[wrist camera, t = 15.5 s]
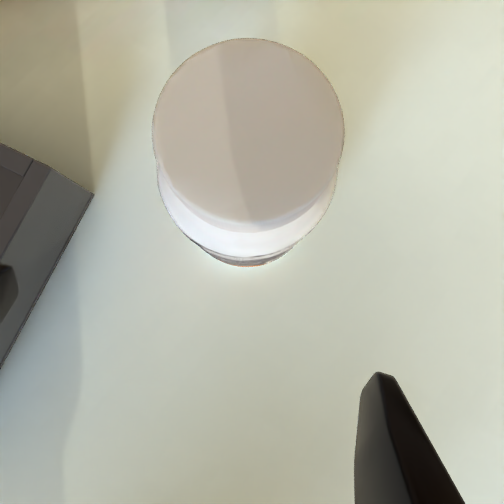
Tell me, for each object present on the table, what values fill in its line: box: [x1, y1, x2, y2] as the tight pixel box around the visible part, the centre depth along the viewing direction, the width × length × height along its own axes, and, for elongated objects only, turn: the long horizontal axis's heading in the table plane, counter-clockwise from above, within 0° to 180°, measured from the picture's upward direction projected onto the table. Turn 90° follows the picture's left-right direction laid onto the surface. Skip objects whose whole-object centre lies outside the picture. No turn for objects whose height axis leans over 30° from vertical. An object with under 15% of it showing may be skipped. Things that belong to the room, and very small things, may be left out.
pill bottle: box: [152, 38, 344, 267], centre depth 14 cm, size 6×6×10 cm
